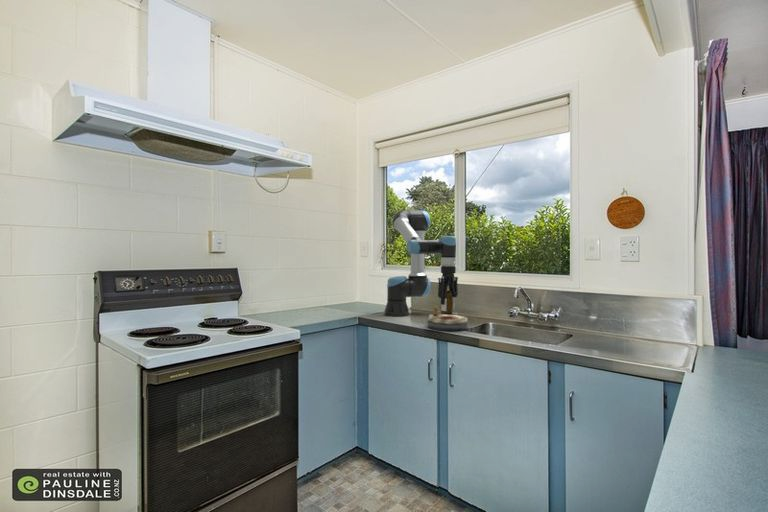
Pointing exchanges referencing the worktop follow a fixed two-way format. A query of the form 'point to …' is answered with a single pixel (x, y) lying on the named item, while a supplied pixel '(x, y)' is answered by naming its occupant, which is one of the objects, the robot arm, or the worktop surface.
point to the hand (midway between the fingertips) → (447, 310)
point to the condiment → (448, 304)
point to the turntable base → (447, 326)
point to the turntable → (446, 318)
